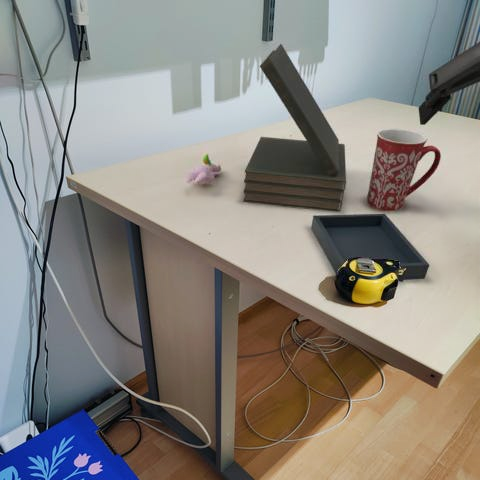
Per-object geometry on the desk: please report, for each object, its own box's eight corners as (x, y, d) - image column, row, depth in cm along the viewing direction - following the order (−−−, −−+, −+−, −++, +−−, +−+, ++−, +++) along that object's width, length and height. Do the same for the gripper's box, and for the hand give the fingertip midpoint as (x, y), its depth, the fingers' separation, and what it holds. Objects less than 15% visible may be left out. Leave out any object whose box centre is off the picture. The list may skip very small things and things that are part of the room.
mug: (364, 211, 84) (381, 141, 75) (359, 193, 91) (374, 126, 82) (429, 216, 83) (453, 146, 74) (419, 198, 90) (441, 131, 81)
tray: (381, 226, 79) (384, 213, 78) (424, 279, 66) (429, 264, 64) (311, 228, 78) (313, 215, 76) (340, 283, 64) (343, 268, 62)
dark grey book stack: (340, 212, 83) (369, 66, 67) (242, 201, 86) (248, 58, 70) (340, 171, 101) (363, 47, 85) (259, 163, 103) (266, 41, 87)
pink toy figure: (202, 175, 99) (176, 189, 86) (202, 148, 96) (177, 158, 83) (227, 179, 98) (205, 193, 85) (229, 152, 95) (206, 162, 82)
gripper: (488, 30, 42) (388, 139, 63) (700, 37, 45) (538, 139, 66) (479, -39, 43) (384, 92, 64) (689, -27, 46) (532, 94, 67)
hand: (462, 116), depth 65 cm, fingers open, 13 cm apart
